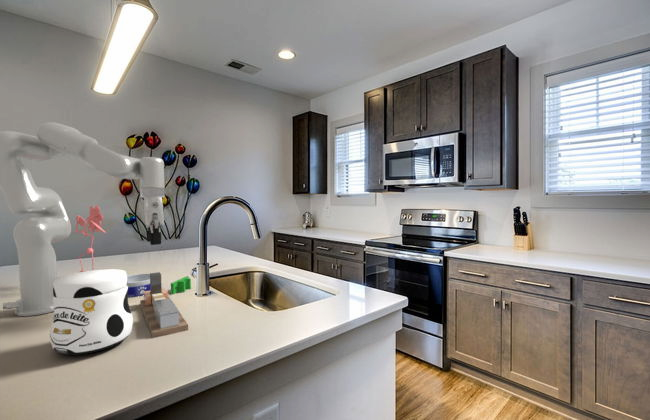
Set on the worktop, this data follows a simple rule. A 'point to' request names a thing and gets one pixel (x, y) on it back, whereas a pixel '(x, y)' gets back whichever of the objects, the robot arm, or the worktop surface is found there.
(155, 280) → the bar
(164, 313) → the grey concrete brick
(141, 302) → the board
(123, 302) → the milk container
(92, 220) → the figurine
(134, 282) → the dog bowl
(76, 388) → the worktop surface
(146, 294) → the socket
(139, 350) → the worktop surface
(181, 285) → the pipe clamp
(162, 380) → the worktop surface
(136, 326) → the worktop surface
